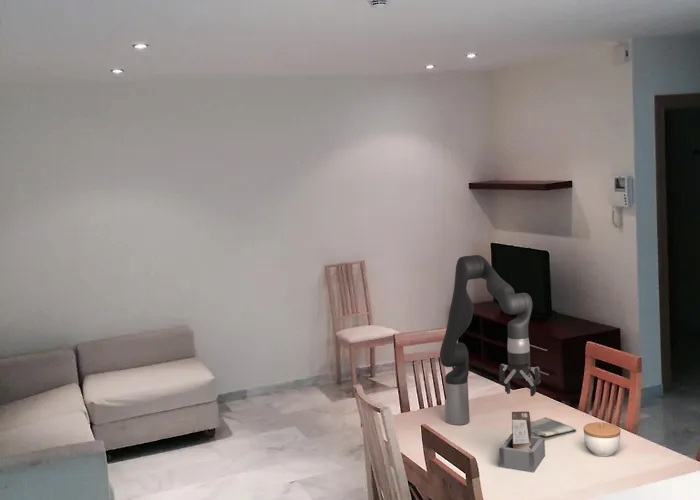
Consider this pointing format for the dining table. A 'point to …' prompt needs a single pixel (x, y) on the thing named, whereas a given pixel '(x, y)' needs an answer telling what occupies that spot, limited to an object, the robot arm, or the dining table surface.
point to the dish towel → (549, 428)
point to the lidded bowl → (602, 438)
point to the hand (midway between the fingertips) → (520, 394)
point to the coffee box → (521, 430)
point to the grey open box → (522, 455)
